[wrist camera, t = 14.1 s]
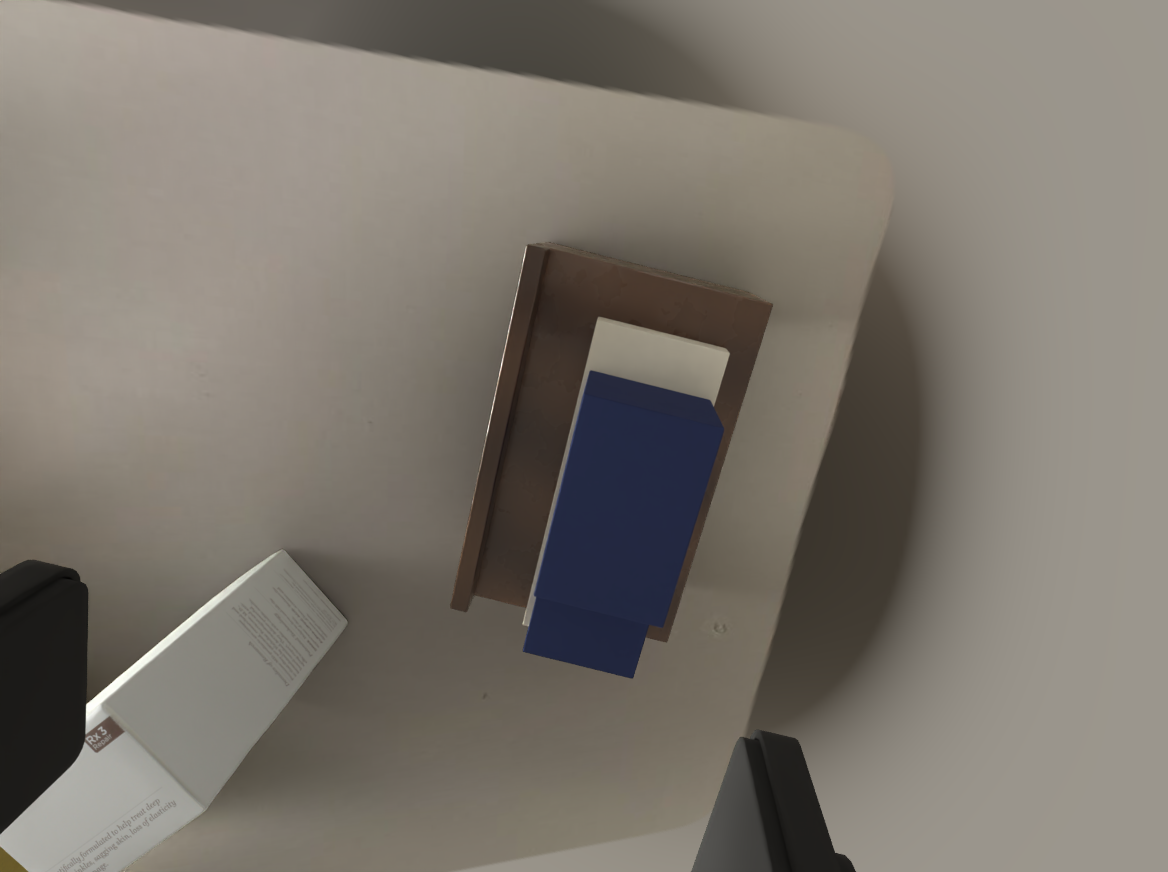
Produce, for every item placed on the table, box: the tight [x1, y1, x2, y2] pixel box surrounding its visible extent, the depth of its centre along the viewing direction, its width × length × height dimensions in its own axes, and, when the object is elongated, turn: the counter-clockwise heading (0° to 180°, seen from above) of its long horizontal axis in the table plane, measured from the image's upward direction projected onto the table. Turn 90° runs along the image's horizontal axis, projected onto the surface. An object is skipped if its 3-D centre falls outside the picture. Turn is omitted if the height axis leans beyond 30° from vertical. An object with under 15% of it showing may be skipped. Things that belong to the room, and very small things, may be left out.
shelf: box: [450, 242, 773, 642], centre depth 33 cm, size 16×10×8 cm, turn 166°
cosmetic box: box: [0, 549, 348, 872], centre depth 34 cm, size 8×6×15 cm
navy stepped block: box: [523, 317, 730, 678], centre depth 28 cm, size 14×5×6 cm, turn 166°
